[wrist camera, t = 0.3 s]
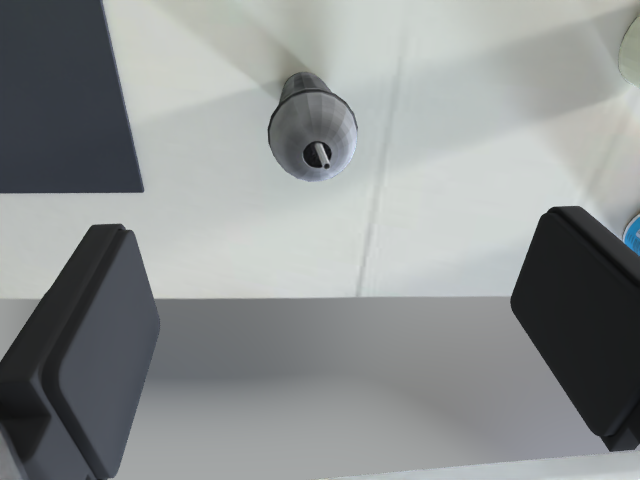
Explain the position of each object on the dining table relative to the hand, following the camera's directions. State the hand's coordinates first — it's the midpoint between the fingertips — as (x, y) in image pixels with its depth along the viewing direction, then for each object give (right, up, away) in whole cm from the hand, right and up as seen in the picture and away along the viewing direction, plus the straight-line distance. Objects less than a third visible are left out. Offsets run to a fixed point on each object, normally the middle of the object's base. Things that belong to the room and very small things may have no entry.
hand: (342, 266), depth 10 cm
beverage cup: (-2, +16, +33) cm, 37 cm away
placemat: (-28, +14, +31) cm, 44 cm away
